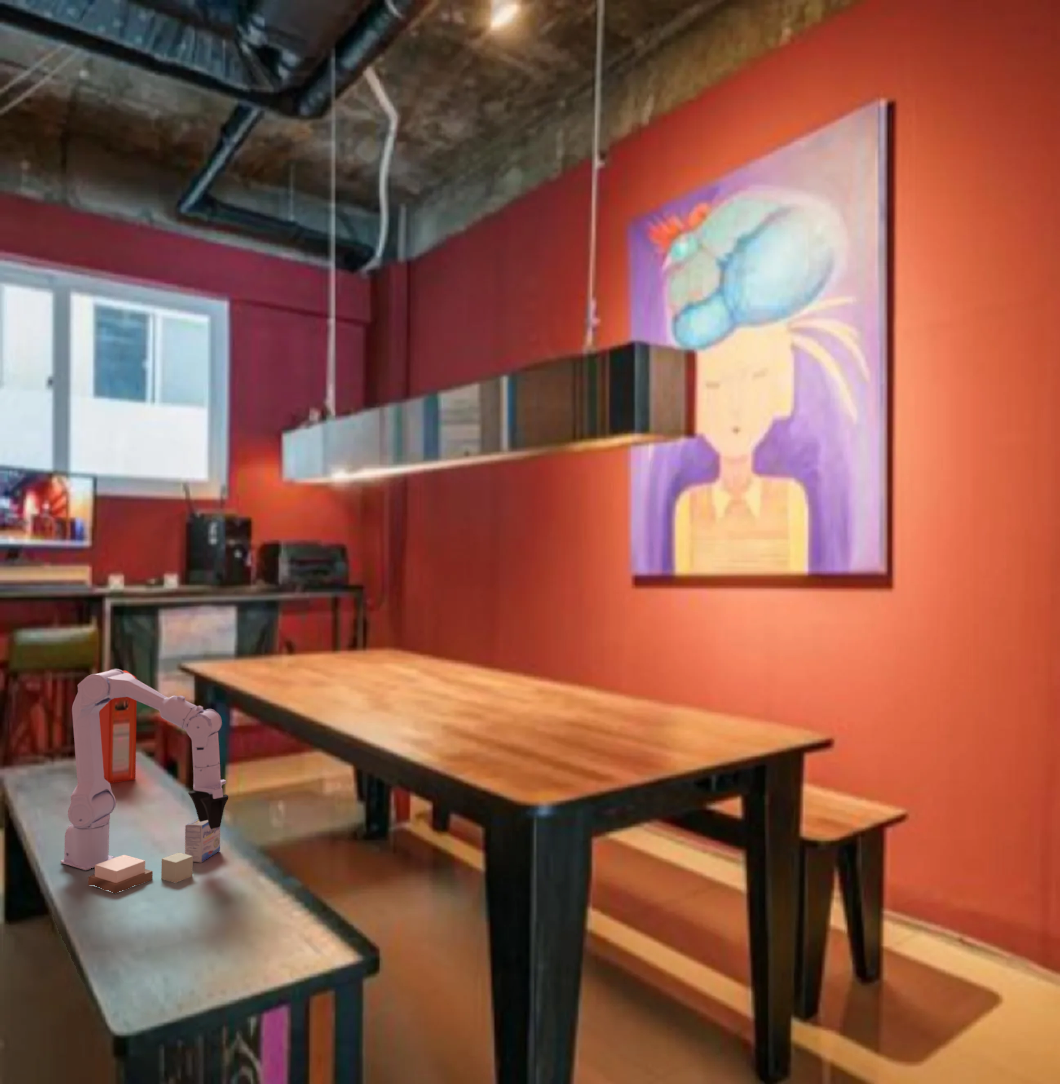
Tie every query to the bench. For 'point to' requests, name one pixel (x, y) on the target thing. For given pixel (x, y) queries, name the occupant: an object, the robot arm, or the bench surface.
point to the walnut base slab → (120, 885)
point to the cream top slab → (119, 868)
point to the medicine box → (201, 840)
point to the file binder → (119, 739)
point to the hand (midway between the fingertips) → (209, 824)
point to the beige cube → (176, 867)
